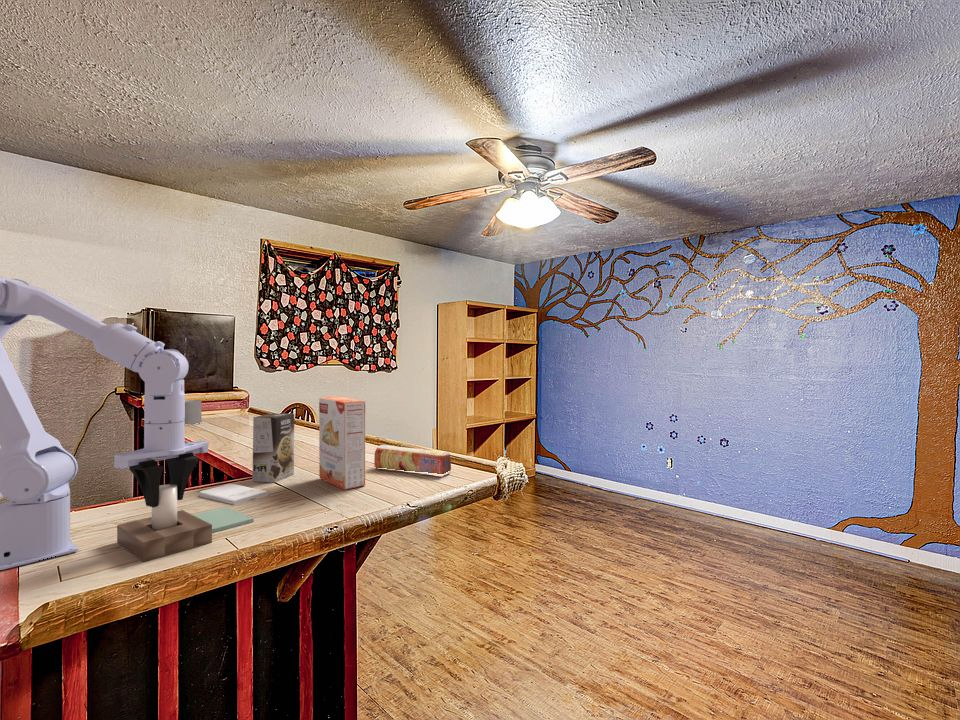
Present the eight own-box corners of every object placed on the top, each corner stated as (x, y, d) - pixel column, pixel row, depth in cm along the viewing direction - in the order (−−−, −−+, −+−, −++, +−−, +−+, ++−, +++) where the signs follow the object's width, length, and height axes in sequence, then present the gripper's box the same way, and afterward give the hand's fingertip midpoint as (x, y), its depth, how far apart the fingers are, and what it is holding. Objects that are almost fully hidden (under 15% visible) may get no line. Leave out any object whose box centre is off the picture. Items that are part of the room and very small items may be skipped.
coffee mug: (193, 421, 222) (193, 399, 222) (206, 423, 217) (206, 400, 217) (162, 424, 211) (162, 401, 211) (174, 427, 206) (174, 403, 205)
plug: (160, 534, 80) (160, 491, 80) (146, 530, 81) (146, 488, 81) (182, 527, 83) (182, 485, 83) (168, 523, 85) (168, 483, 85)
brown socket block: (143, 561, 75) (143, 542, 75) (117, 542, 82) (117, 524, 82) (211, 542, 83) (212, 524, 82) (182, 526, 90) (182, 510, 90)
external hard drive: (232, 489, 116) (268, 497, 110) (198, 498, 109) (234, 507, 103) (232, 482, 116) (268, 490, 110) (198, 491, 109) (234, 500, 103)
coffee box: (275, 483, 120) (275, 417, 120) (251, 481, 121) (251, 416, 121) (295, 474, 129) (295, 413, 129) (272, 472, 130) (273, 412, 130)
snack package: (452, 473, 132) (452, 448, 132) (441, 479, 126) (442, 453, 126) (385, 466, 140) (385, 442, 140) (371, 471, 134) (372, 446, 134)
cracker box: (317, 479, 124) (318, 396, 124) (339, 475, 128) (340, 395, 128) (342, 491, 114) (343, 401, 113) (366, 486, 118) (366, 399, 117)
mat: (203, 535, 86) (203, 531, 86) (177, 521, 92) (177, 518, 92) (253, 521, 93) (253, 518, 93) (226, 509, 100) (226, 506, 100)
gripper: (133, 429, 74) (133, 519, 74) (220, 418, 87) (219, 494, 87) (106, 426, 77) (106, 512, 77) (193, 415, 90) (193, 489, 90)
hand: (164, 502), depth 82 cm, fingers closed on plug, 4 cm apart
